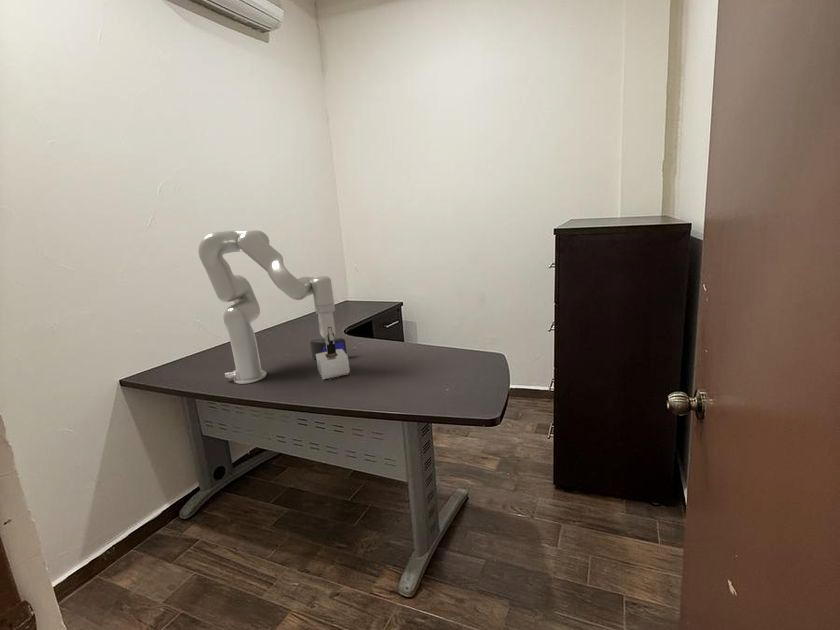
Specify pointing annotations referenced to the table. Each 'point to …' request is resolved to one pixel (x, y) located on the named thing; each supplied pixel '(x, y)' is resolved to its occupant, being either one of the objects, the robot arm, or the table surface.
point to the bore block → (332, 364)
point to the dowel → (326, 348)
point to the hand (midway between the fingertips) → (330, 351)
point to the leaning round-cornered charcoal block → (319, 347)
